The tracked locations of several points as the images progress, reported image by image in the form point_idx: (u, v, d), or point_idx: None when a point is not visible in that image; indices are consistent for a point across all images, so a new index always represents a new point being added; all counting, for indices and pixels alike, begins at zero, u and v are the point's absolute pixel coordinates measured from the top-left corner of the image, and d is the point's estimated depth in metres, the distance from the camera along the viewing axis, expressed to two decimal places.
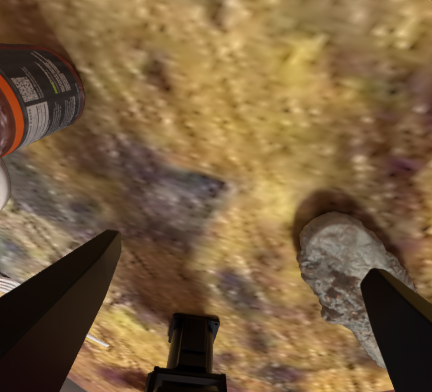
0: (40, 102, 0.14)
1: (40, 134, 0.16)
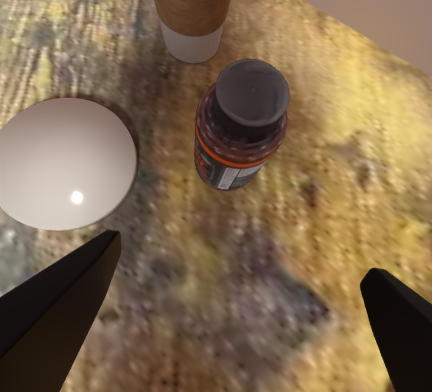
0: None
1: (248, 173, 0.18)
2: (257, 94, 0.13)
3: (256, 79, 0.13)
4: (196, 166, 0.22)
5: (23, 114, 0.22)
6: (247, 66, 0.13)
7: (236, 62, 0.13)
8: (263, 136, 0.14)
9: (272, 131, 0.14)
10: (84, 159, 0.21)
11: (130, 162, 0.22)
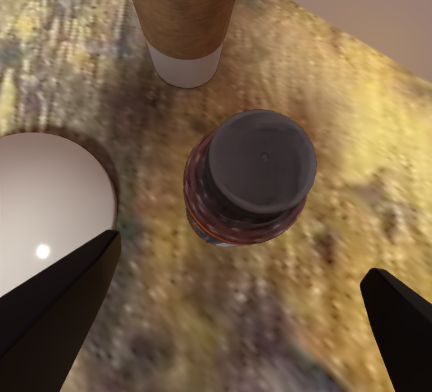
0: None
1: None
2: (270, 163, 0.09)
3: (268, 141, 0.09)
4: (188, 218, 0.18)
5: None
6: (255, 121, 0.09)
7: (239, 115, 0.09)
8: (277, 213, 0.10)
9: None
10: (49, 210, 0.17)
11: (107, 213, 0.17)
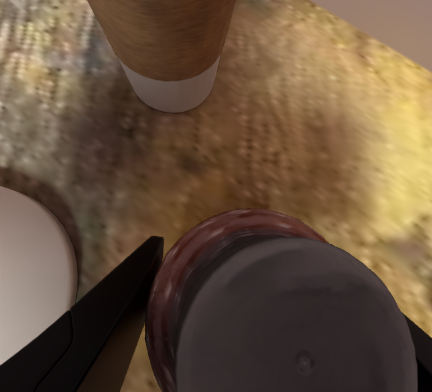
0: None
1: None
2: (318, 381, 0.04)
3: (312, 320, 0.04)
4: None
5: None
6: (282, 272, 0.04)
7: (246, 257, 0.04)
8: None
9: None
10: None
11: (59, 295, 0.13)
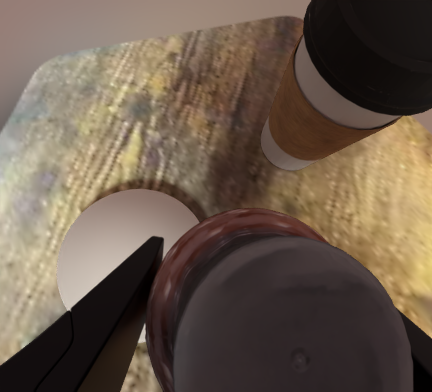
0: None
1: None
2: (313, 378, 0.04)
3: (308, 318, 0.04)
4: None
5: (106, 201, 0.20)
6: (277, 270, 0.04)
7: (243, 256, 0.04)
8: None
9: None
10: None
11: None
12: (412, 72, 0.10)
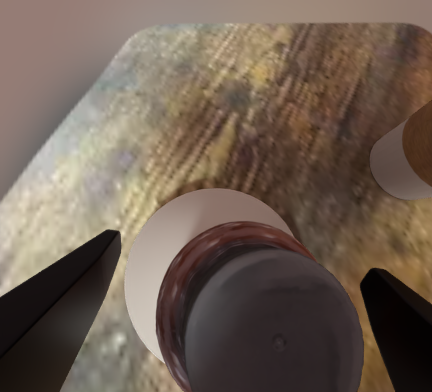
0: None
1: None
2: (289, 355, 0.05)
3: (285, 311, 0.05)
4: None
5: (192, 196, 0.17)
6: (262, 276, 0.05)
7: (236, 265, 0.05)
8: None
9: None
10: None
11: None
12: None
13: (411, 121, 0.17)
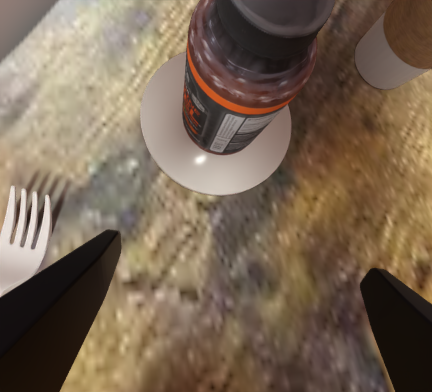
0: None
1: (252, 128, 0.13)
2: None
3: None
4: (184, 120, 0.17)
5: None
6: None
7: None
8: (287, 63, 0.10)
9: (299, 58, 0.10)
10: None
11: (280, 154, 0.20)
12: None
13: (393, 2, 0.19)
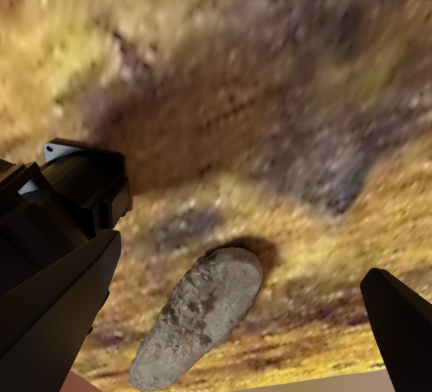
0: None
1: None
2: None
3: None
4: None
5: None
6: None
7: None
8: None
9: None
10: None
11: None
12: None
13: None
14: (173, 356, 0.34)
